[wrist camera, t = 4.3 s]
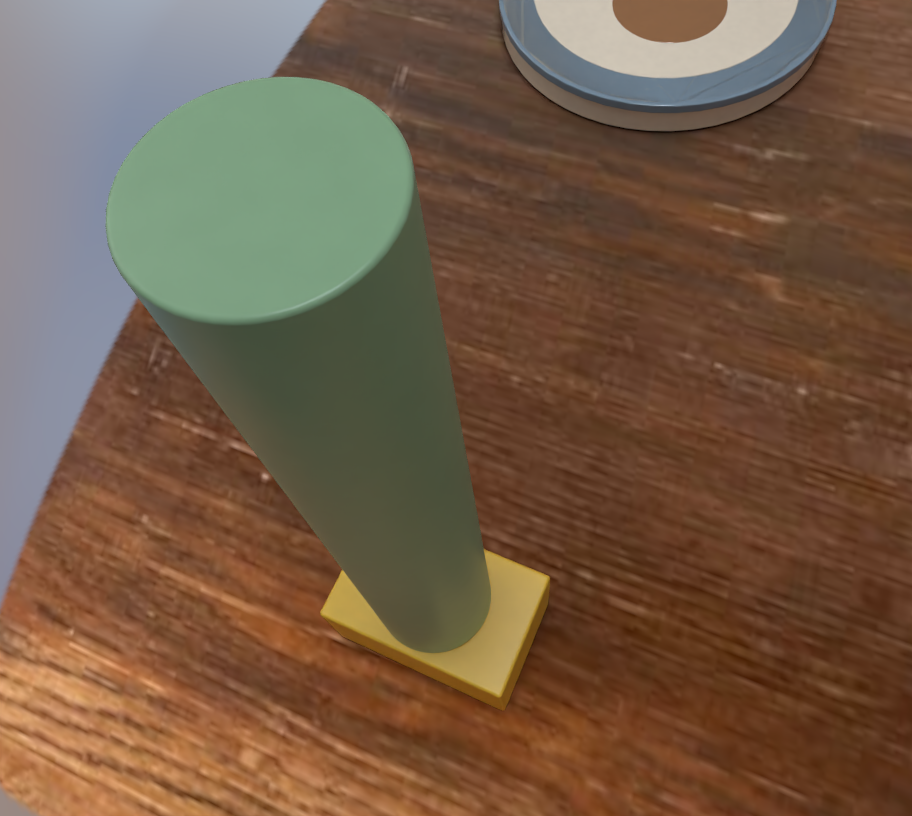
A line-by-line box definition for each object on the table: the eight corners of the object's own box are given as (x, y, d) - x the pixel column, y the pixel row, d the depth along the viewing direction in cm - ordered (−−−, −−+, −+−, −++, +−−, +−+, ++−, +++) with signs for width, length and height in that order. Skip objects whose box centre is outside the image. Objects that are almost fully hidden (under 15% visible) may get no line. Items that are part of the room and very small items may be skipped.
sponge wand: (340, 635, 26) (-65, 242, 9) (390, 534, 28) (132, 10, 10) (504, 712, 25) (430, 432, 7) (549, 601, 26) (581, 132, 9)
